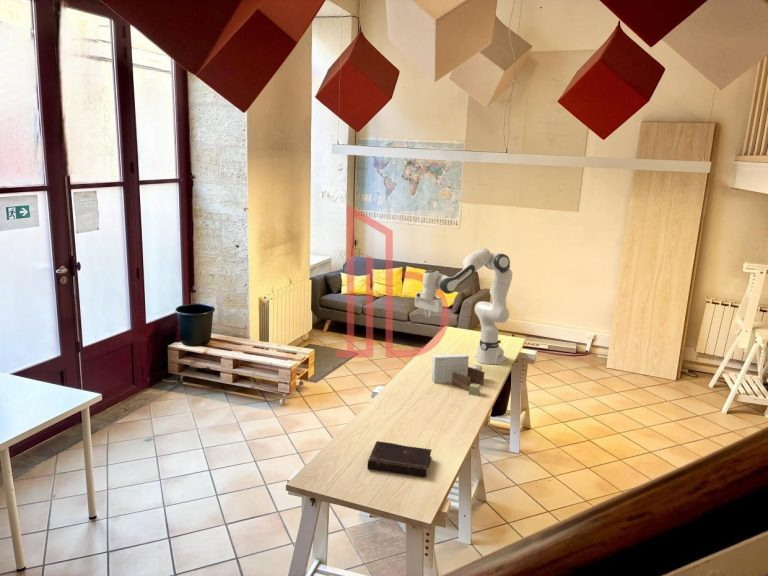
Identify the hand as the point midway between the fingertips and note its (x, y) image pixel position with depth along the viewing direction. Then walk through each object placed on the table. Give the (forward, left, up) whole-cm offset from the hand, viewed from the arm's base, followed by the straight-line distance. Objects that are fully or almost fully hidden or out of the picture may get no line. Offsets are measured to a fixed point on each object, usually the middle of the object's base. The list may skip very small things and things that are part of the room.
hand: (427, 316), depth 380 cm
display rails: (+11, +41, -31) cm, 53 cm away
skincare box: (+14, +30, -31) cm, 45 cm away
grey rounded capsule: (-1, +39, -31) cm, 50 cm away
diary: (+110, +74, -32) cm, 136 cm away
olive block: (+19, +51, -31) cm, 63 cm away
